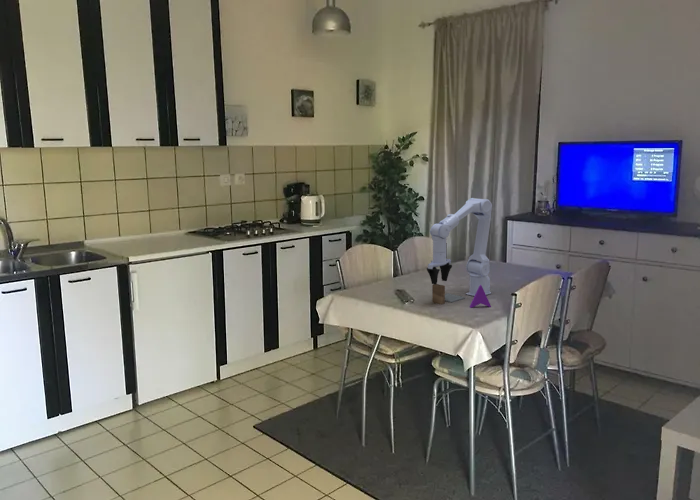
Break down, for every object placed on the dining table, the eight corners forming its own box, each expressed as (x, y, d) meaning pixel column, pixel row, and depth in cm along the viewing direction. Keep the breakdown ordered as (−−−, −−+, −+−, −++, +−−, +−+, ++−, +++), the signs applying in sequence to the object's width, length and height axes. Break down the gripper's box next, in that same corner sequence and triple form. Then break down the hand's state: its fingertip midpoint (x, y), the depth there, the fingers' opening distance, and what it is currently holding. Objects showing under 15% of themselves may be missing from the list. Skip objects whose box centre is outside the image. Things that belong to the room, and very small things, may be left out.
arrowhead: (479, 316, 251) (496, 300, 250) (480, 317, 249) (497, 301, 248) (463, 301, 249) (480, 284, 248) (464, 302, 248) (481, 285, 247)
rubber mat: (447, 294, 271) (447, 293, 271) (465, 298, 263) (465, 297, 263) (433, 298, 264) (433, 297, 264) (451, 302, 257) (451, 301, 257)
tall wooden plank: (435, 301, 260) (435, 283, 258) (444, 303, 256) (444, 285, 255) (432, 302, 258) (432, 284, 257) (441, 304, 255) (441, 286, 253)
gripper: (441, 248, 260) (441, 278, 262) (421, 253, 250) (421, 284, 252) (454, 249, 255) (454, 280, 258) (435, 255, 245) (435, 286, 247)
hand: (439, 282), depth 255 cm, fingers open, 7 cm apart
